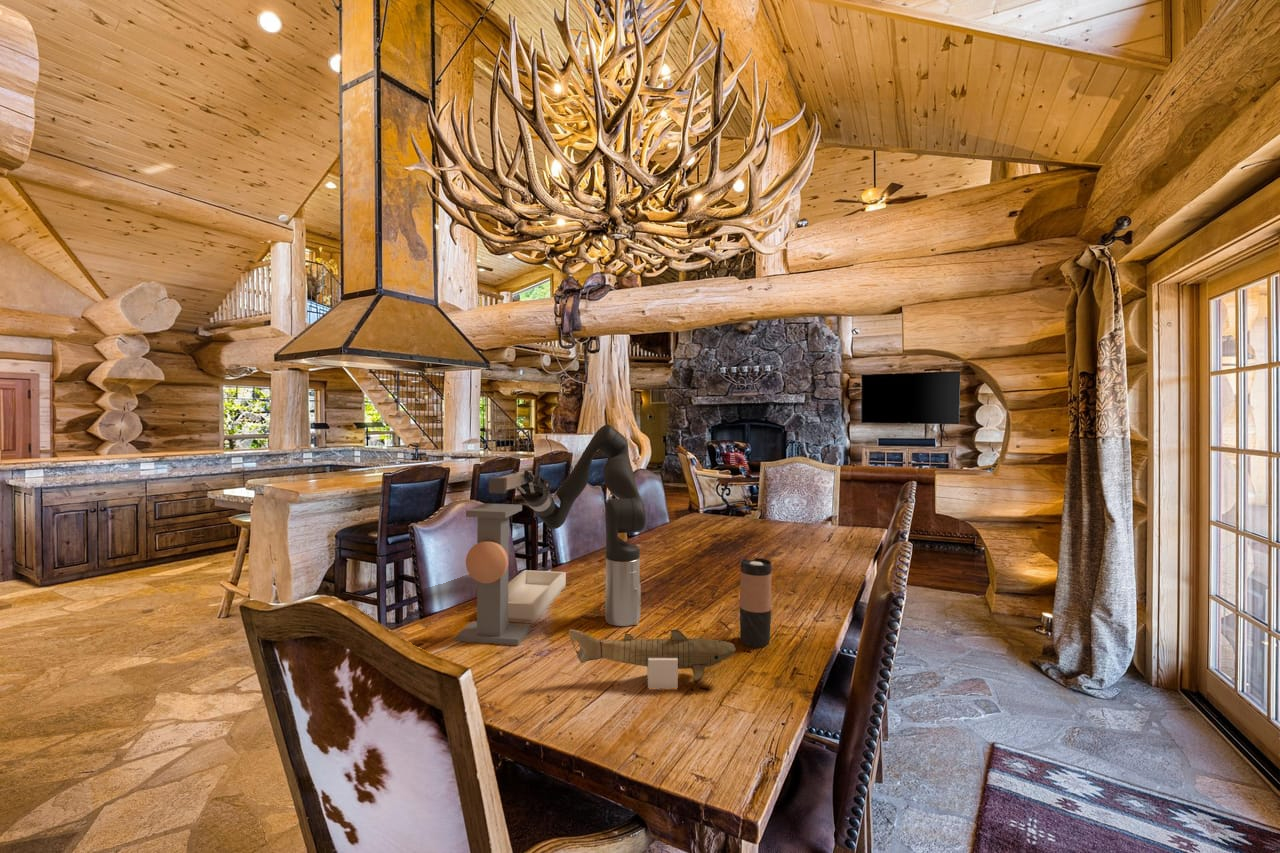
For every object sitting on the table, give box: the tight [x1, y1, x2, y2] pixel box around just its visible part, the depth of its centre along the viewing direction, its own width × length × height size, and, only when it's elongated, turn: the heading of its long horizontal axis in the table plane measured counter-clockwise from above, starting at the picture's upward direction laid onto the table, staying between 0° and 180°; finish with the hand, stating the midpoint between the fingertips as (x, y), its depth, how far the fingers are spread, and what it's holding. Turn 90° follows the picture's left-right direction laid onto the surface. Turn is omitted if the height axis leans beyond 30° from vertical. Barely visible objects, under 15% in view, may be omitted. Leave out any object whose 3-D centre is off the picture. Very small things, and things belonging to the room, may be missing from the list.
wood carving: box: [568, 629, 736, 690], centre depth 110 cm, size 9×35×11 cm, turn 91°
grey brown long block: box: [488, 470, 533, 494], centre depth 144 cm, size 4×22×4 cm, turn 172°
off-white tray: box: [508, 569, 567, 624], centre depth 157 cm, size 14×30×5 cm, turn 172°
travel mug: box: [739, 557, 772, 648], centre depth 130 cm, size 8×8×20 cm
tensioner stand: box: [455, 502, 532, 647], centre depth 132 cm, size 16×11×32 cm
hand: (519, 473), depth 148 cm, fingers closed on grey brown long block, 3 cm apart
